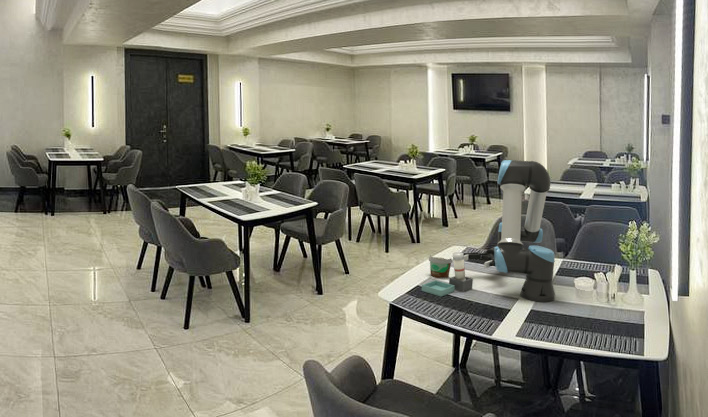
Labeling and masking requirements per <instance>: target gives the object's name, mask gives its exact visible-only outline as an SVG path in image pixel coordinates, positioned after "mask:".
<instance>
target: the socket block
mask: <svg viewBox="0 0 708 417" xmlns="http://www.w3.org/2000/svg"><path fill="white" fill-rule="evenodd" d="M448 278H449V280H448V284H451V285H454V286H455V290H454V291H458V292H461V293H466V292H467V291H469V290H472V289H473V283H474V282H473V281H474V278H472V277H469V276H465V278H466V280H465V281H461V280H457V279H455V275H454V276H451V277H448Z"/></svg>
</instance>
